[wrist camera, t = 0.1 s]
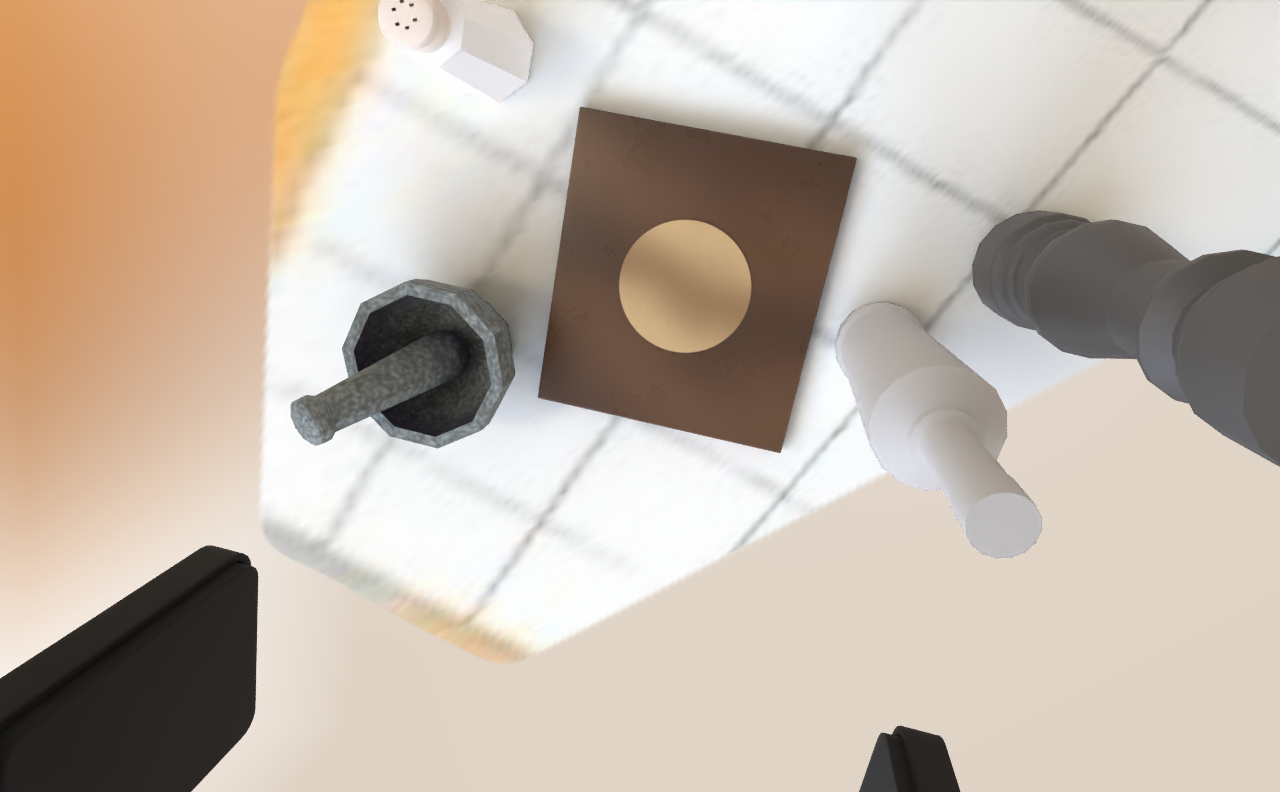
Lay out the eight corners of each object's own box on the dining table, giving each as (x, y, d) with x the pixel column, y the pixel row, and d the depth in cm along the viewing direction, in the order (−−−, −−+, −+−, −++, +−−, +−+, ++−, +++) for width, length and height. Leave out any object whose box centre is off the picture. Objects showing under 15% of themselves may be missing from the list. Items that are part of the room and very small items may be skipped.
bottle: (939, 324, 44) (1146, 495, 20) (892, 397, 45) (1030, 636, 21) (861, 284, 44) (974, 406, 20) (817, 359, 45) (872, 554, 22)
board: (583, 108, 43) (579, 106, 42) (855, 158, 42) (857, 157, 41) (541, 393, 49) (537, 398, 48) (780, 448, 47) (780, 454, 46)
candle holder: (1113, 270, 41) (1582, 391, 18) (1016, 342, 43) (1321, 539, 19) (1043, 186, 41) (1430, 195, 17) (949, 263, 42) (1178, 368, 19)
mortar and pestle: (498, 246, 47) (412, 267, 35) (562, 378, 48) (500, 439, 37) (357, 315, 49) (235, 355, 38) (422, 437, 51) (325, 511, 40)
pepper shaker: (543, 94, 44) (473, 67, 33) (458, 111, 45) (365, 90, 34) (525, -6, 42) (446, -67, 32) (438, 14, 43) (334, -39, 33)
